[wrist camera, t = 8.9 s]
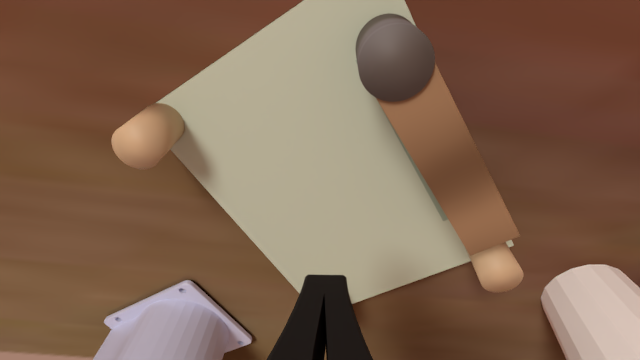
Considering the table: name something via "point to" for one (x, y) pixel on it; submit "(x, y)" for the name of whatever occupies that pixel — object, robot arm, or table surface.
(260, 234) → the seat
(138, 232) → the table surface
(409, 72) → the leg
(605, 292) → the shot glass
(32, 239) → the table surface
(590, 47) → the table surface
